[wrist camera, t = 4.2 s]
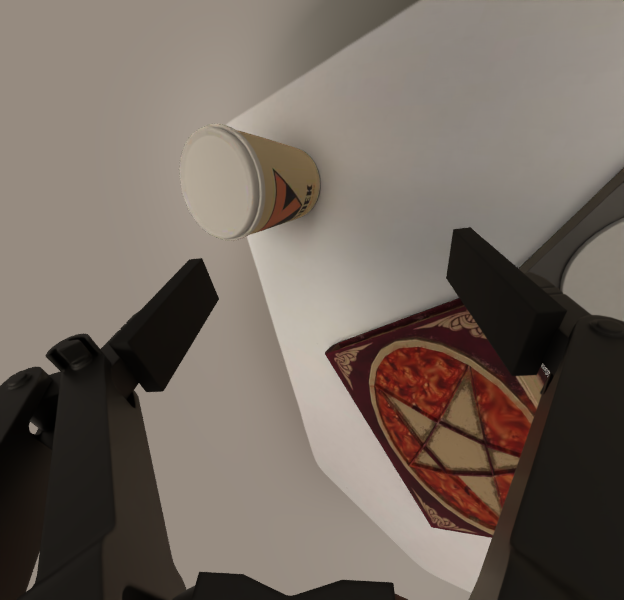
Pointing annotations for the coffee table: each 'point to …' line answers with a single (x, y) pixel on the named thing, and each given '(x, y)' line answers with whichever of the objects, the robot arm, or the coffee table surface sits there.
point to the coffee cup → (244, 182)
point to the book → (442, 412)
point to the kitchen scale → (589, 254)
